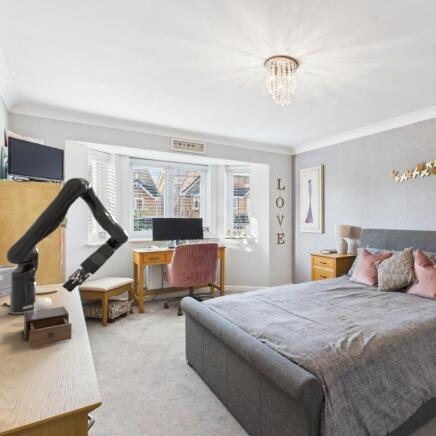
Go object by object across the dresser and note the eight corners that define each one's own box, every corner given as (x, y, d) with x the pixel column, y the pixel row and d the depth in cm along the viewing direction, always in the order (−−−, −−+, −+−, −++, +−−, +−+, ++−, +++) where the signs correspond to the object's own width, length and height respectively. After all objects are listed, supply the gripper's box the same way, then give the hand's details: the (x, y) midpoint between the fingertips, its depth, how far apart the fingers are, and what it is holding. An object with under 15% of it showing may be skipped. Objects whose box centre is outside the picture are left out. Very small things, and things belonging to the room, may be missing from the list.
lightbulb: (54, 320, 143) (54, 296, 143) (38, 325, 137) (38, 300, 137) (46, 318, 145) (46, 295, 145) (30, 323, 140) (30, 298, 140)
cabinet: (68, 332, 129) (68, 313, 129) (25, 340, 120) (25, 321, 120) (64, 323, 140) (64, 306, 139) (23, 330, 130) (23, 312, 130)
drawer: (71, 339, 119) (71, 324, 119) (29, 348, 111) (29, 332, 111) (66, 329, 130) (66, 315, 130) (27, 337, 121) (27, 322, 121)
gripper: (84, 256, 158) (55, 282, 150) (92, 259, 149) (62, 287, 140) (95, 265, 162) (69, 291, 154) (104, 269, 152) (76, 296, 144)
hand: (66, 289), depth 147 cm, fingers open, 8 cm apart
